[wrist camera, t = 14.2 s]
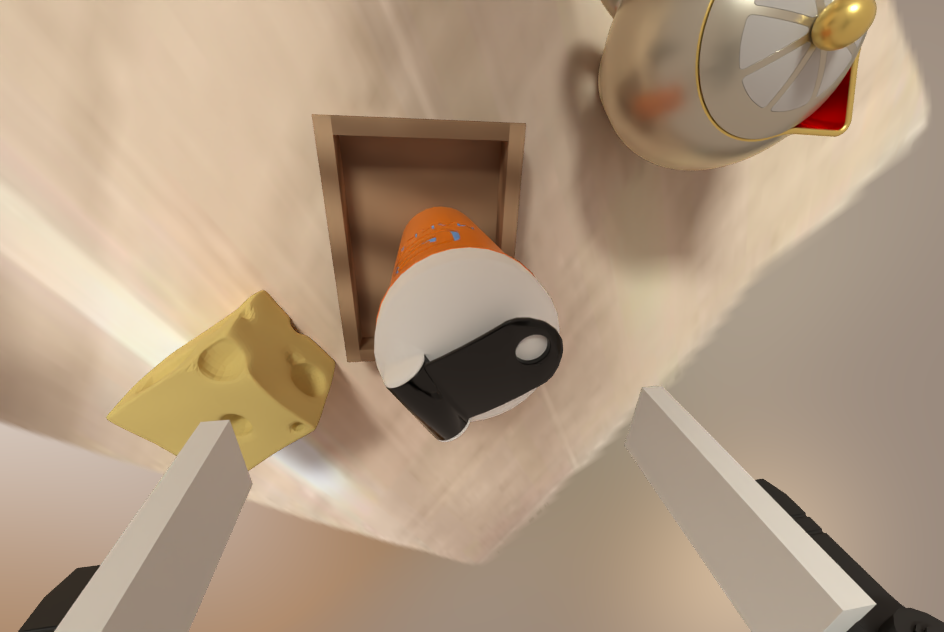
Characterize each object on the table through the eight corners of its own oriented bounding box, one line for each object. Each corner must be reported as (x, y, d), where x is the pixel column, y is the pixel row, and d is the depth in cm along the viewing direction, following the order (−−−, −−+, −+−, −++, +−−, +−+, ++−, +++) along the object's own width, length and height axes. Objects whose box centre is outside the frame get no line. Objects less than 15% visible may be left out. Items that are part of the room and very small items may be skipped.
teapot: (757, 57, 31) (1069, -9, 16) (643, 196, 35) (812, 243, 20) (617, -141, 24) (938, -557, 9) (495, 60, 28) (590, -18, 13)
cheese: (263, 285, 33) (210, 341, 24) (343, 364, 38) (324, 435, 29) (176, 344, 34) (95, 418, 25) (265, 413, 39) (224, 495, 30)
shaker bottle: (509, 249, 34) (621, 380, 16) (437, 310, 35) (467, 489, 18) (445, 171, 30) (499, 228, 12) (367, 243, 31) (315, 387, 14)
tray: (322, 116, 28) (311, 114, 24) (513, 124, 30) (526, 123, 27) (352, 342, 37) (347, 362, 33) (497, 335, 39) (505, 353, 36)
